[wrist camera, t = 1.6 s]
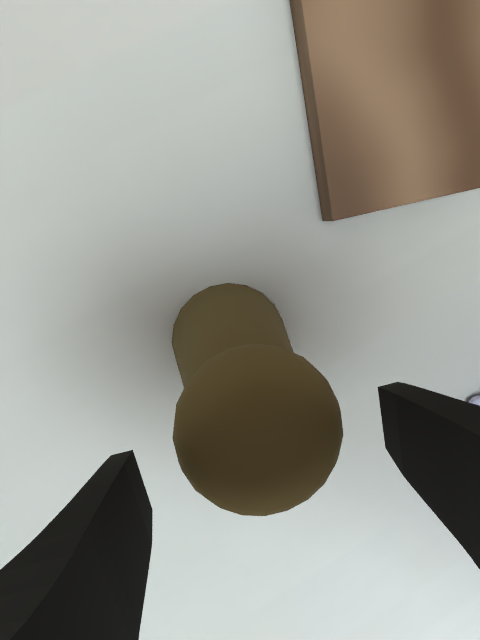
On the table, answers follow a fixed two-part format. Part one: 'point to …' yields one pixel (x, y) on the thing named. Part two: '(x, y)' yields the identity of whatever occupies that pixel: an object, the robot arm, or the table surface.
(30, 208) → the table surface
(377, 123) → the tan wooden plank
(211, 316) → the cork
